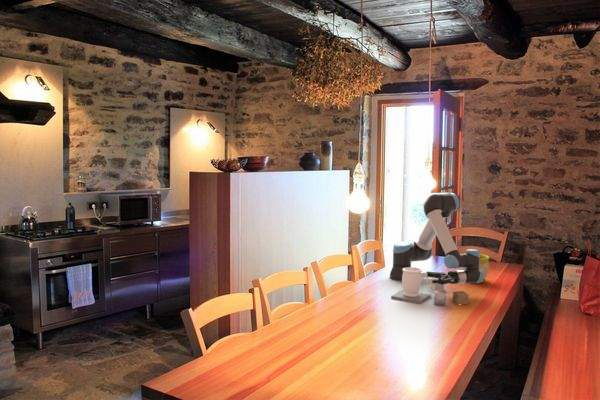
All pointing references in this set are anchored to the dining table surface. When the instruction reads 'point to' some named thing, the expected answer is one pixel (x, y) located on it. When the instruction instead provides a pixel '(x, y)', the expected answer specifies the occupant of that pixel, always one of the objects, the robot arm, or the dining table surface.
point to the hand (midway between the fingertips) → (421, 278)
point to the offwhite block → (437, 287)
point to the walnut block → (460, 297)
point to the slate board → (418, 299)
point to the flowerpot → (482, 265)
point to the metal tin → (440, 298)
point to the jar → (411, 281)
